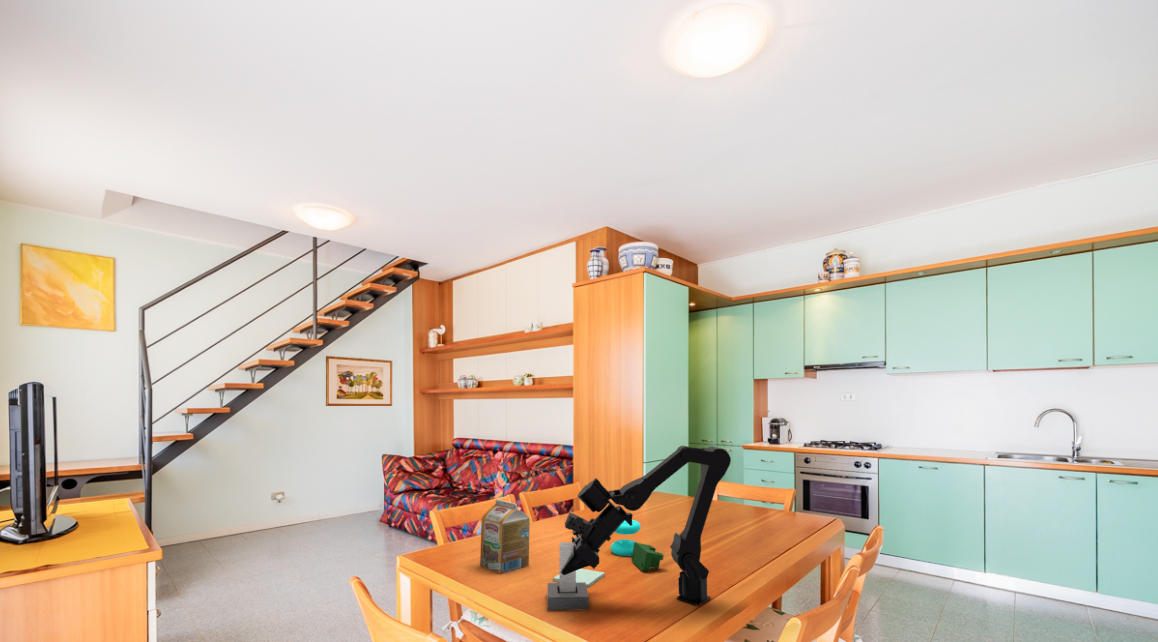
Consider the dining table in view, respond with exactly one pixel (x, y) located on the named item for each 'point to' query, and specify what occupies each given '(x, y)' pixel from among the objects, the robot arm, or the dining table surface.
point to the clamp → (645, 556)
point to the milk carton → (504, 538)
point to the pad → (585, 576)
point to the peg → (565, 581)
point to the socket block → (567, 598)
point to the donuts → (624, 545)
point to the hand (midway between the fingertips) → (562, 570)
